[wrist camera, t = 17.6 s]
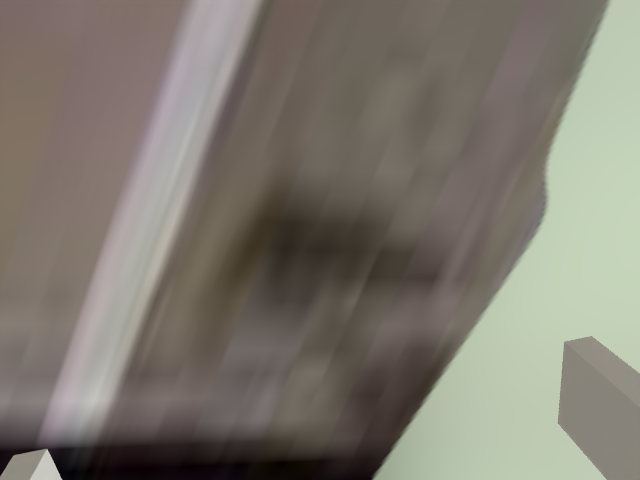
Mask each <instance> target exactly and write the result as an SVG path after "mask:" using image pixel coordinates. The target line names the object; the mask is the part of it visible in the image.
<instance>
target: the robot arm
mask: <svg viewBox="0 0 640 480" xmlns="http://www.w3.org/2000/svg"><path fill="white" fill-rule="evenodd" d="M558 424H559V425H560V426H561V427H562V428H563V430H564V431H565V432H566V433H567V434H568V435H569V436H570V437H571V439H572V440H573V441H574V442H575V443H576V445H577V446H578V447H579V448H580V449H581V450H582V451H583V453H584V454H585V455H586V456H587V457H588V458H589V459H590V460H591V462H592V463H593V464H594V465H595V466H596V468H598V470H599V471H600V472H601V473H602V474H603V476H604V477H605V478H606V479H607V480H640V374H639V373H638V372H637V371H636V370H634V369H633V368H632V367H631V366H629V365H628V364H627V363H625V362H624V361H623V360H622V359H620V358H619V357H618V356H616V355H615V354H614V353H613V352H611V351H610V350H609V349H607V348H606V347H605V346H604V345H602V344H601V343H600V342H598V341H597V340H596V339H595V338H593V337H592V336H591V337H585V338H581V339H576V340H571V341H566V342H564V352H563V365H562V379H561V391H560V403H559V416H558ZM0 480H62V479H61V477H60V475H59V473H58V471H57V469H56V467H55V464H54V462H53V460H52V458H51V456H50V454H49V452H48V450H47V449H44V450H39V451H34V452H29V453H24V454H19V455H14V456H13V457H12V459H11V461H10V462H9V464H8V465H7V467H6V469H5V470H4V472H3V473H2V475H1V477H0Z"/></svg>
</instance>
